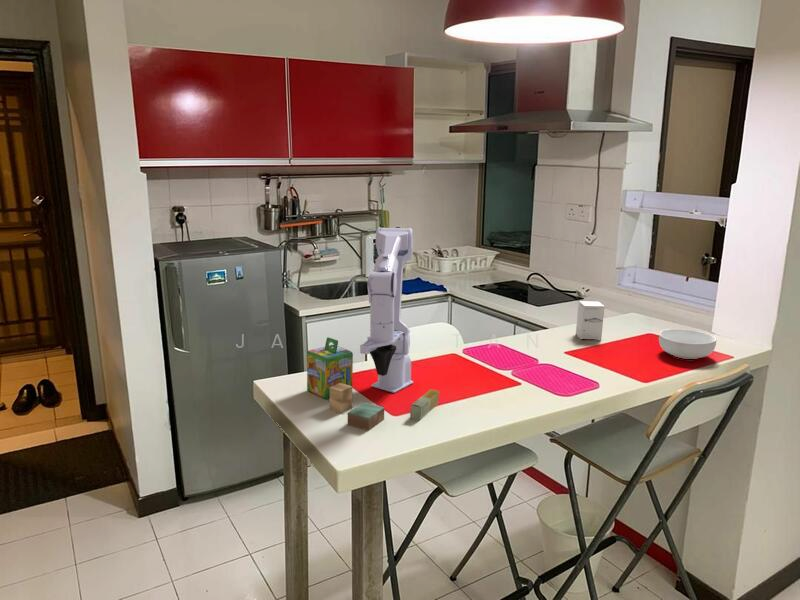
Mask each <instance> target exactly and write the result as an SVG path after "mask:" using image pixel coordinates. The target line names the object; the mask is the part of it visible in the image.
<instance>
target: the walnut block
mask: <svg viewBox="0 0 800 600" xmlns="http://www.w3.org/2000/svg"><path fill="white" fill-rule="evenodd" d="M384 420H385V407H383V406H380V405H375V404H371V403H367V402H362V403H360V404H358V405H357V406H355V407H354V408H352V409H350V410H348V411H347V426H350V427H353V428H357V429H361V430H365V431H368V432H370V431H371V430H373V428H375V427H376V426H378V425H379V424H381V423H382V422H383V421H384Z"/></svg>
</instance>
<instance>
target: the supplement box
mask: <svg viewBox="0 0 800 600" xmlns="http://www.w3.org/2000/svg"><path fill="white" fill-rule="evenodd" d="M577 304H578V305H577V316H576V327H575V335H576V334H577V335H578V336H577V335H576V336H577V337H578V339H579V338H580V339H598V340H597V341H602V337H603V336H602V335H603V334H602V333H603V328H604V327H603V326H604V325H603V324H604V316H605V308H606V307H605V305H604V304H602V302H600V301H590V300H585V301H584V300H579V301H578V303H577ZM580 339H579V340H580Z"/></svg>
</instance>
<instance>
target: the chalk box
mask: <svg viewBox="0 0 800 600" xmlns="http://www.w3.org/2000/svg"><path fill="white" fill-rule="evenodd" d="M331 343H332V344H331ZM324 344H325V346H322V347H318V348H315V349H314V348H312V349H310V350H307V351H306V366H307V367H306V375H307V376H306V390H307V391H308V392H310V393H313V394H314V395H317V396H319V397H321V398H323V399H325V400H327V401H328V400H330V387H332V386H334V385H336V384H339V383H342V384H346V385H349V386H352V387H353V384H354V383H353V378H354V377H353V375H354V374H353V373H354V372H353V371H354V370H353V369H354V366H353V365H354V360H353V359H354V358H353V357H354V354H353V352H352V351H350V350H349V349H347V348H343V347H341V346H338V345H339V341H338V340H337V339H335V338H332V337H329V336H328V337H326V340H325V343H324ZM353 390H354V389H352V392H353Z"/></svg>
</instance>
